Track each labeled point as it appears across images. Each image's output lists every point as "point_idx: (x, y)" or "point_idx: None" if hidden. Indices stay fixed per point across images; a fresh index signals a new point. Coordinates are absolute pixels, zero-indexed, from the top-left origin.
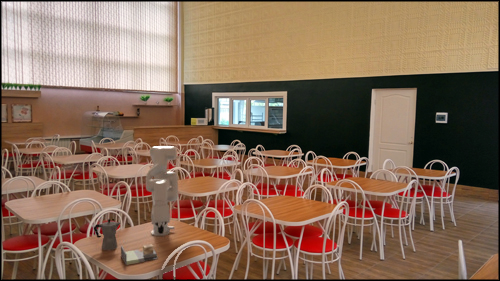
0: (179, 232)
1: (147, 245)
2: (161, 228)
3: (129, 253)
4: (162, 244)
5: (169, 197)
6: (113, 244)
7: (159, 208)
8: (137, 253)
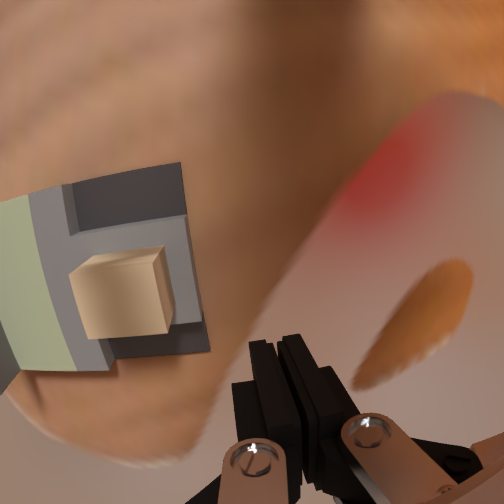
0: None
1: (109, 293)
2: (302, 460)
3: (9, 251)
4: (292, 57)
5: None
6: None
7: None
8: (55, 272)
